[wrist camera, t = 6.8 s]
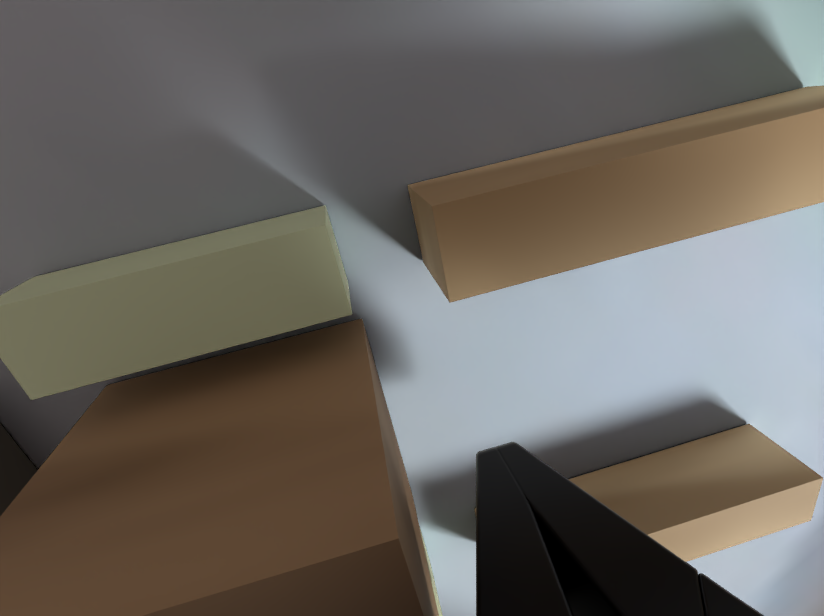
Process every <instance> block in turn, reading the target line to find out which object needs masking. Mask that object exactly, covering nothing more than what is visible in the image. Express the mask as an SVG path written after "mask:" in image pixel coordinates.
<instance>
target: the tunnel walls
mask: <svg viewBox="0 0 824 616" xmlns="http://www.w3.org/2000/svg"><path fill="white" fill-rule="evenodd" d="M407 186H408V190H409V195H410V200H411V205H412V210H413V215H414V220H415V224H416V229H417V234H418V239H419V244H420V249H421V253H422V258H423V263H424V264H425V266H426V267H427V269H428V270H429V272H430V273H431V275H432V276H433V278H434V279H435V281H436V282H437V284H438V285H439V287H440V288H441V290H442V291H443V293H444V295H445V296H446V298H447V299H448V301H449V302H454V301H457V300H461V299H465V298H469V297H472V296H476V295H480V294H483V293H487V292H491V291H495V290H498V289H502V288H506V287H509V286H513V285H517V284H521V283H524V282H528V281H532V280H535V279H539V278H543V277H547V276H550V275H554V274H558V273H561V272H565V271H569V270H573V269H576V268H580V267H584V266H587V265H591V264H595V263H599V262H602V261H606V260H610V259H613V258H617V257H621V256H625V255H628V254H632V253H636V252H639V251H643V250H647V249H650V248H654V247H658V246H662V245H665V244H669V243H673V242H676V241H680V240H684V239H688V238H691V237H695V236H699V235H702V234H706V233H710V232H714V231H717V230H721V229H725V228H728V227H732V226H736V225H740V224H743V223H747V222H751V221H754V220H758V219H762V218H766V217H769V216H773V215H777V214H780V213H784V212H788V211H792V210H795V209H799V208H803V207H806V206H810V205H814V204H818V203H821V202H824V86H811V87H804V88H800V89H796V90H792V91H787V92H783V93H779V94H775V95H771V96H767V97H763V98H759V99H755V100H751V101H747V102H743V103H739V104H735V105H731V106H726V107H722V108H718V109H714V110H710V111H706V112H702V113H698V114H694V115H690V116H686V117H682V118H678V119H674V120H670V121H665V122H661V123H657V124H653V125H649V126H645V127H641V128H637V129H633V130H629V131H625V132H621V133H617V134H613V135H609V136H604V137H600V138H596V139H592V140H588V141H584V142H580V143H576V144H572V145H568V146H564V147H560V148H556V149H552V150H548V151H544V152H539V153H535V154H531V155H527V156H523V157H519V158H515V159H511V160H507V161H503V162H499V163H495V164H491V165H487V166H483V167H478V168H474V169H470V170H466V171H462V172H458V173H454V174H450V175H446V176H442V177H438V178H434V179H430V180H426V181H422V182H417V183H413V184H409V185H407ZM568 480H570V481H571V482H573V483H574V484H576V485H577V486H578V487H580V488H581V489H583V490H584V491H586V492H587V493H588V494H590V495H591V496H593V497H594V498H596V499H597V500H598V501H600V502H601V503H603V504H604V505H605V506H607V507H608V508H610V509H611V510H613V511H614V512H615V513H617V514H618V515H620V516H621V517H623V518H624V519H625V520H627V521H628V522H630V523H631V524H633V525H634V526H635V527H637V528H638V529H640V530H641V531H642V532H644V533H645V534H647V535H648V536H650V537H651V538H652V539H654V540H655V541H657V542H658V543H660V544H661V545H662V546H664V547H665V548H667V549H668V550H670V551H671V552H672V553H674V554H675V555H677V556H678V557H680V558H681V559H682V560H684V561H685V562H687V561H690V560H693V559H696V558H699V557H702V556H705V555H708V554H711V553H714V552H717V551H720V550H723V549H726V548H729V547H732V546H735V545H738V544H741V543H744V542H747V541H750V540H753V539H756V538H759V537H762V536H765V535H768V534H771V533H774V532H777V531H780V530H783V529H786V528H789V527H793V526H796V525H799V524H802V523H805V522H808V521H811V518H812V515H813V511H814V508H815V505H816V501H817V498H818V494H819V491H820V487H821V484H822V480H823V477H821V476H820V475H819V474H817V473H816V472H815V471H813V470H812V469H810V468H809V467H808V466H806V465H805V464H804V463H802V462H801V461H799V460H798V459H797V458H795V457H794V456H793V455H791V454H790V453H789V452H787V451H786V450H784V449H783V448H782V447H780V446H779V445H778V444H776V443H775V442H773V441H772V440H771V439H769V438H768V437H767V436H765V435H764V434H763V433H761V432H760V431H758V430H757V429H756V428H754V427H753V426H752V425H750V424H746V425H743V426H740V427H737V428H733V429H730V430H727V431H724V432H721V433H717V434H714V435H711V436H708V437H704V438H701V439H698V440H695V441H691V442H688V443H685V444H682V445H678V446H675V447H672V448H669V449H665V450H662V451H659V452H656V453H652V454H649V455H646V456H643V457H639V458H636V459H633V460H630V461H626V462H623V463H620V464H617V465H613V466H610V467H607V468H604V469H600V470H597V471H594V472H591V473H588V474H584V475H581V476H578V477H575V478H571V479H568ZM474 510H475V515H476V508H474Z"/></svg>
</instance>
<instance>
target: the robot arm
mask: <svg viewBox="0 0 824 616" xmlns="http://www.w3.org/2000/svg"><path fill="white" fill-rule="evenodd" d="M476 616H764V615H762V614H761V613H759V612H758V611H756V610H755V609H753V608H752V607H750V606H749V605H747V604H746V603H744V602H743V601H741V600H740V599H738V598H737V597H735V596H734V595H733V594H731V593H730V592H728V591H727V590H725V589H724V588H722V587H721V586H720V585H718V584H717V583H715V582H714V581H712V580H711V579H710V578H708V577H707V576H705V575H704V574H702V573H701V574H699V575H698V572H697V570H696V569H695V568H694V567H692V566H691V565H689V564H688V563H687V562H685V561H684V560H682V559H681V558H680V557H678V556H677V555H675V554H674V553H672V552H671V551H670V550H668V549H667V548H665V547H664V546H662V545H661V544H660V543H658V542H657V541H655V540H654V539H652V538H651V537H650V536H648V535H647V534H645V533H644V532H642V531H641V530H640V529H638V528H637V527H635V526H634V525H633V524H631V523H630V522H628V521H627V520H625V519H624V518H623V517H621V516H620V515H618V514H617V513H615V512H614V511H613V510H611V509H610V508H608V507H607V506H605V505H604V504H603V503H601V502H600V501H598V500H597V499H596V498H594V497H593V496H591V495H590V494H588V493H587V492H586V491H584V490H583V489H581V488H580V487H578V486H577V485H576V484H574V483H573V482H571V481H570V480H568V479H567V478H566V477H564V476H563V475H561V474H560V473H559V472H557V471H556V470H554V469H553V468H551V467H550V466H549V465H547V464H546V463H544V462H543V461H541V460H540V459H539V458H537V457H536V456H534V455H533V454H531V453H530V452H529V451H527V450H526V449H524V448H523V447H521V446H520V445H519V444H517V443H515V442H510V443H507V444H503V445H500V446H496V447H493V448H490V449H486V450H483V451H479V452H478V453H477V454H476Z"/></svg>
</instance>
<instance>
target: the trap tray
mask: <svg viewBox="0 0 824 616" xmlns="http://www.w3.org/2000/svg"><path fill="white" fill-rule="evenodd" d="M37 471H38V470H37V469H36V468H35V466H34V465H33V464H32V463H31V461H30V460H29V459H28V458H27V456H26V455H25V454H24V453H23V451H22V450H21V449H20V448H19V446H18V445H17V444H16V443H15V441H14V440H13V439H12V437H11V436H10V435H9V434H8V432H7V431H6V430H5V429H4V427H3V426H2V425H1V424H0V516H1V515H2V514H3V512H4V511H5V510H6V509H7V507H8V506H9V505H10V504H11V503H12V501H13V500H14V499H15V498H16V496H17V495H18V494H19V493H20V491H21V490H22V489H23V488H24V487H25V485H26V484H27V483H28V482H29V480H30V479H31V478H32V477H33V476H34V474H35V473H36V472H37Z"/></svg>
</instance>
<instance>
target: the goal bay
mask: <svg viewBox="0 0 824 616" xmlns="http://www.w3.org/2000/svg"><path fill="white" fill-rule="evenodd" d="M349 315H352V308H351V301H350V294H349V286H348V281H347V277H346V274H345V270H344V267H343V263H342V260H341V257H340V253H339V250H338V246H337V243H336V240H335V236H334V233H333V229H332V226H331V223H330V219H329V216H328V212H327V209H326V205H324V206H320V207H316V208H312V209H308V210H304V211H300V212H295V213H291V214H287V215H283V216H279V217H275V218H271V219H267V220H263V221H259V222H255V223H251V224H247V225H243V226H239V227H235V228H230V229H226V230H222V231H218V232H214V233H210V234H206V235H202V236H198V237H194V238H190V239H186V240H182V241H178V242H174V243H169V244H165V245H161V246H157V247H153V248H149V249H145V250H141V251H137V252H133V253H129V254H125V255H121V256H117V257H113V258H108V259H104V260H100V261H96V262H92V263H88V264H84V265H80V266H76V267H72V268H68V269H64V270H60V271H56V272H52V273H47V274H43V275H39V276H35V277H33V278H31V279H29V280H27V281H25V282H24V283H22V284H20V285H18V286H16V287H15V288H13V289H11V290H9V291H8V292H6V293H4V294H2V295H0V358H1V360H2V361H3V362H4V364H5V365H6V367H7V368H8V369H9V371H10V372H11V373H12V375H13V376H14V377H15V379H16V380H17V382H18V383H19V384H20V386H21V387H22V388H23V390H24V391H25V392H26V394H27V395H28V397H29V398H30V399H31V400H34V399H38V398H41V397H45V396H49V395H53V394H56V393H60V392H64V391H68V390H71V389H75V388H79V387H83V386H86V385H90V384H94V383H98V382H101V381H105V380H109V379H113V378H116V377H120V376H124V375H128V374H131V373H135V372H139V371H143V370H146V369H150V368H154V367H158V366H161V365H165V364H169V363H173V362H176V361H180V360H184V359H188V358H191V357H195V356H199V355H202V354H206V353H210V352H214V351H217V350H221V349H225V348H229V347H232V346H236V345H240V344H244V343H247V342H251V341H255V340H259V339H262V338H266V337H270V336H274V335H277V334H281V333H285V332H289V331H292V330H296V329H300V328H304V327H307V326H311V325H315V324H319V323H322V322H326V321H330V320H334V319H337V318H341V317H345V316H349ZM419 528H420V526H419ZM420 532H421V530H420ZM421 537H422V541H423V546H424V550H425V555H426V559H427V564H428V568H429V573H430V577H431V582H432V587H433V591H434V596H435V600H436V605H437V609H438V614H439V616H442V611H441V607H440V603H439V599H438V594H437V590H436V586H435V581H434V577H433V573H432V569H431V564H430V560H429V557H428V553H427V550H426V547H425V543H424V540H423V536H422V533H421Z"/></svg>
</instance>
